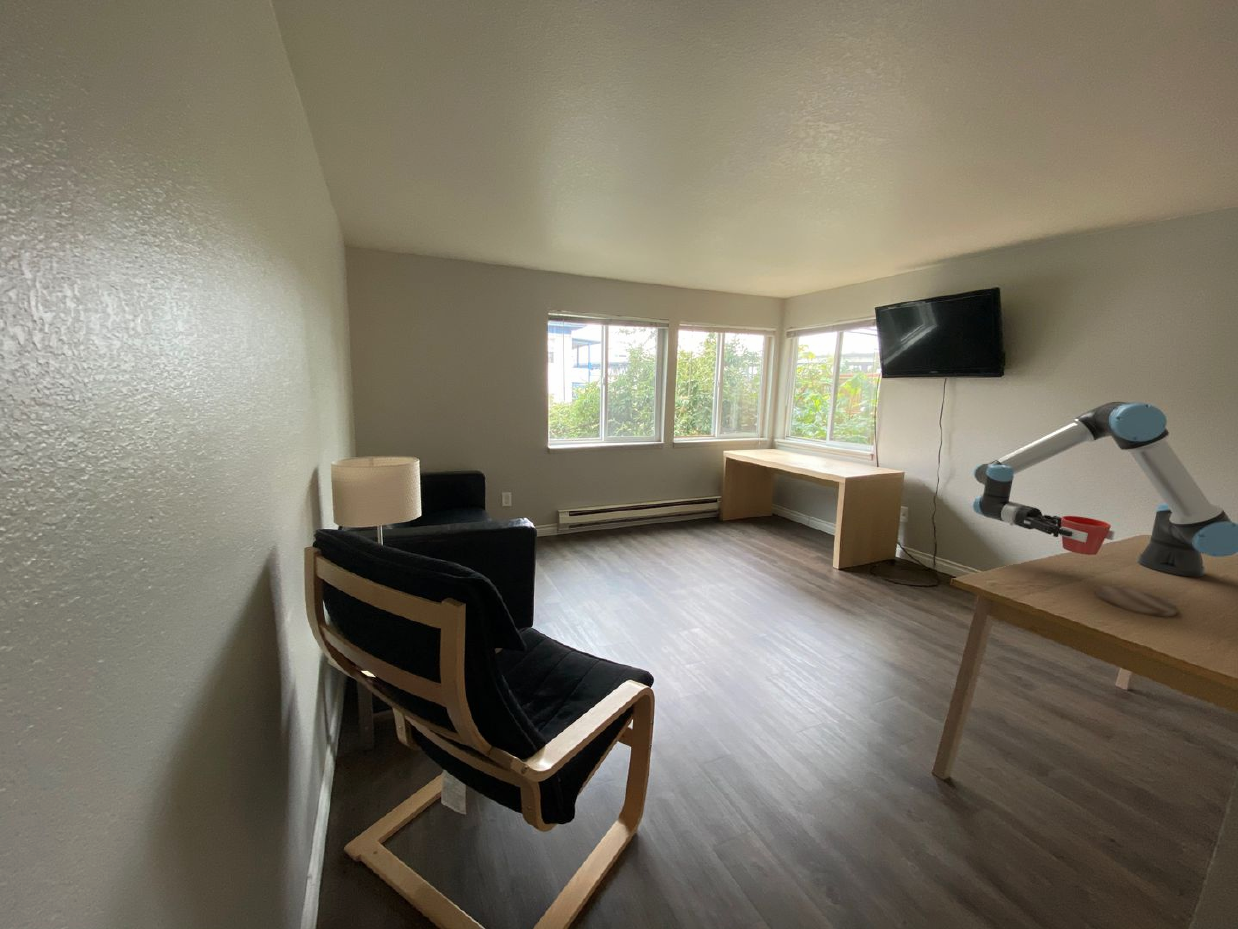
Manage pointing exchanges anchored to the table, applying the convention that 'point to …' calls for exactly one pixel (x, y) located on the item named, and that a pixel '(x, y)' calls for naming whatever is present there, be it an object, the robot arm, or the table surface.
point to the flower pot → (1087, 525)
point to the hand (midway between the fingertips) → (1099, 536)
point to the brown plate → (1136, 601)
